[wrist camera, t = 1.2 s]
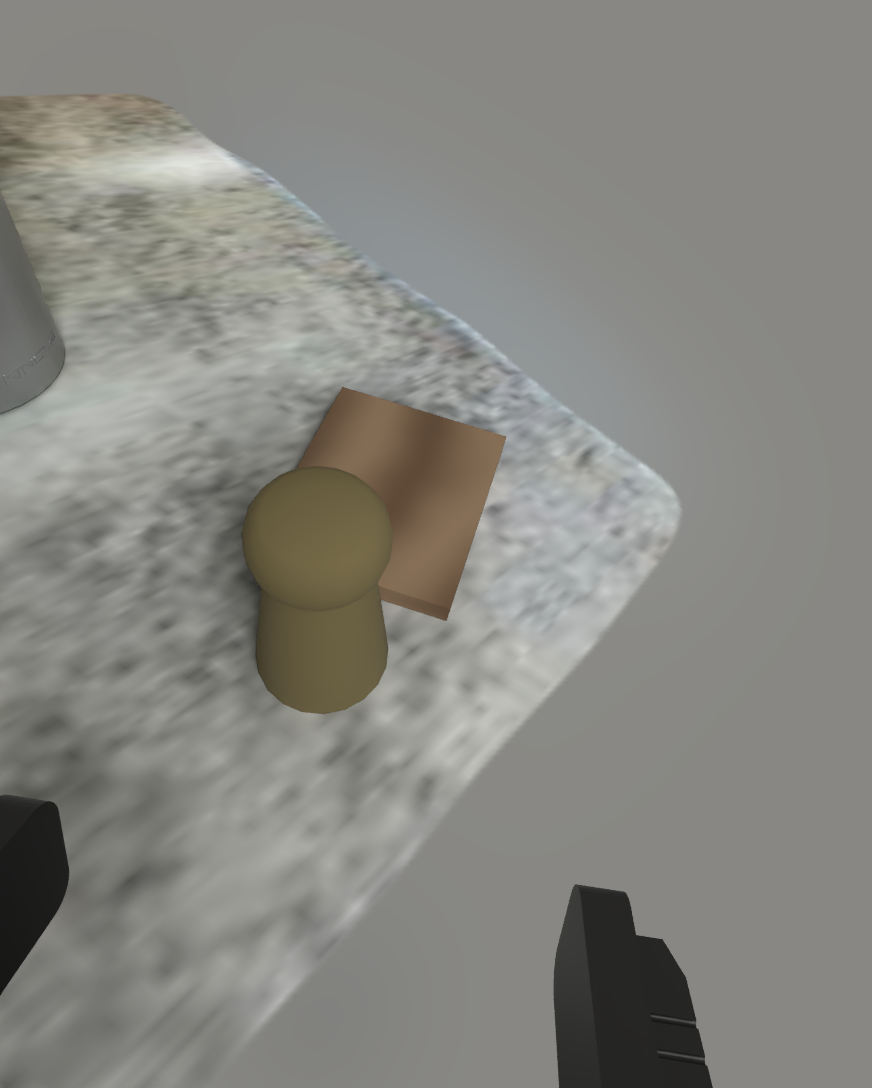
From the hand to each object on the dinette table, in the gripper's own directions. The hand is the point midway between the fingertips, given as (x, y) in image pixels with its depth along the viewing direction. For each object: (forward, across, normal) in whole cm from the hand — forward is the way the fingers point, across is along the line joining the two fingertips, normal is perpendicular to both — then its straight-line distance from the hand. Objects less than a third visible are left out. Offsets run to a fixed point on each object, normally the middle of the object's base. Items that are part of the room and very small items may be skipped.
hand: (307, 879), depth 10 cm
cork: (+19, +4, +9) cm, 21 cm away
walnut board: (+27, +3, +4) cm, 27 cm away
